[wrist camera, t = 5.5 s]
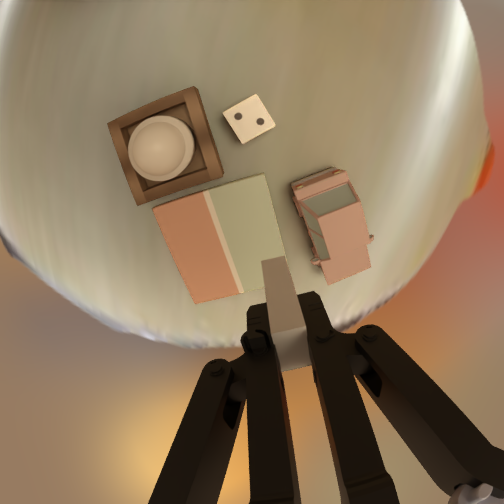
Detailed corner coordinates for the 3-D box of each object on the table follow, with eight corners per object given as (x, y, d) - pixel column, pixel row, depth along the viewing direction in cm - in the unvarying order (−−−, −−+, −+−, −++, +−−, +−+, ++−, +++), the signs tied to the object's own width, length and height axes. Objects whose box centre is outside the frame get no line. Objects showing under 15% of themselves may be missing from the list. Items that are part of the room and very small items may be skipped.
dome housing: (116, 122, 31) (107, 123, 28) (197, 88, 30) (193, 86, 27) (144, 199, 36) (137, 206, 33) (224, 172, 35) (222, 176, 32)
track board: (154, 206, 37) (152, 208, 36) (263, 172, 35) (264, 173, 34) (196, 300, 44) (195, 304, 43) (290, 276, 43) (291, 280, 42)
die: (224, 113, 31) (222, 112, 27) (254, 97, 30) (256, 93, 26) (242, 141, 33) (242, 144, 29) (271, 125, 32) (276, 125, 28)
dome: (130, 129, 31) (108, 133, 25) (185, 107, 30) (173, 104, 24) (149, 183, 34) (132, 197, 28) (204, 163, 33) (196, 173, 28)
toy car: (313, 272, 43) (329, 311, 34) (278, 184, 36) (291, 207, 27) (365, 250, 42) (392, 284, 33) (340, 160, 35) (371, 176, 26)
